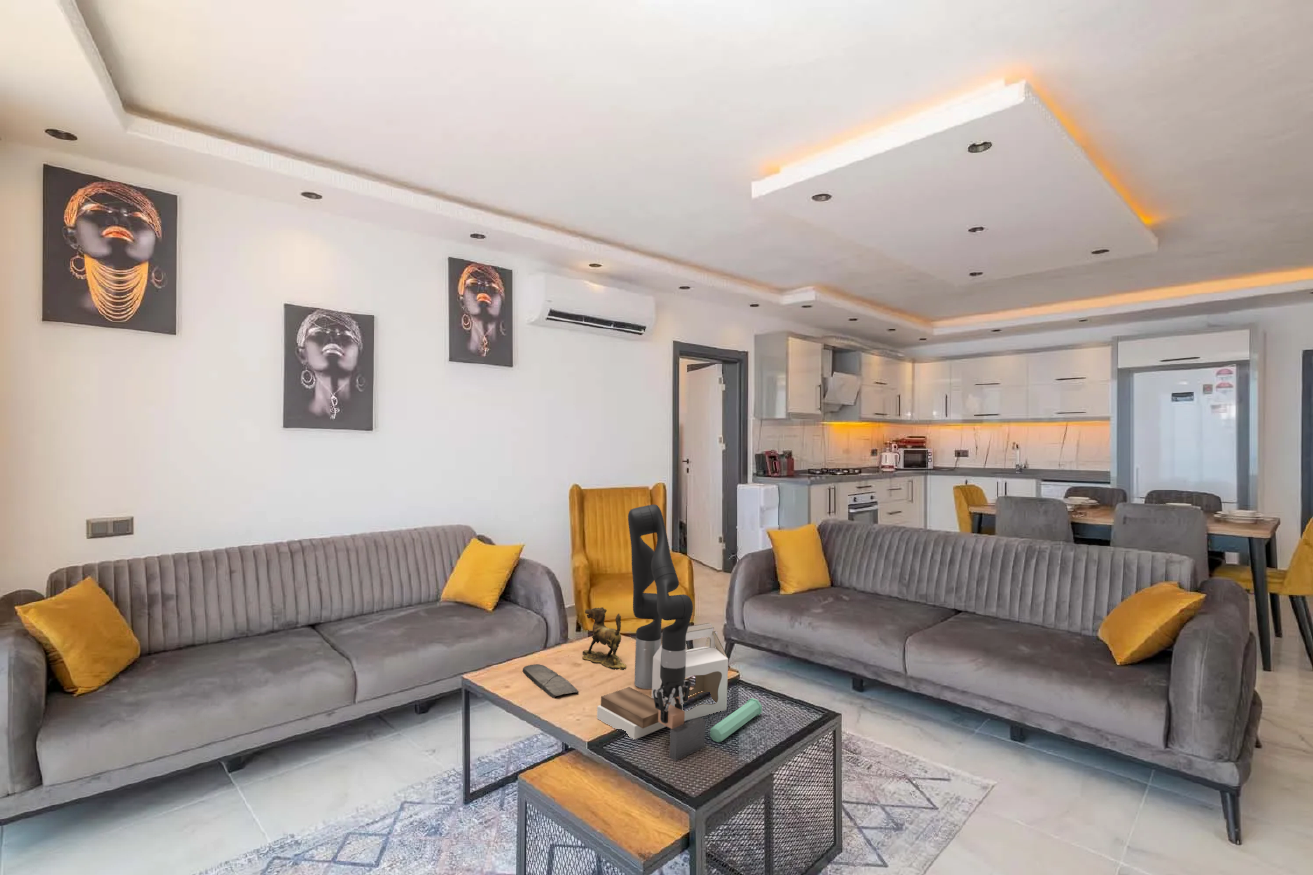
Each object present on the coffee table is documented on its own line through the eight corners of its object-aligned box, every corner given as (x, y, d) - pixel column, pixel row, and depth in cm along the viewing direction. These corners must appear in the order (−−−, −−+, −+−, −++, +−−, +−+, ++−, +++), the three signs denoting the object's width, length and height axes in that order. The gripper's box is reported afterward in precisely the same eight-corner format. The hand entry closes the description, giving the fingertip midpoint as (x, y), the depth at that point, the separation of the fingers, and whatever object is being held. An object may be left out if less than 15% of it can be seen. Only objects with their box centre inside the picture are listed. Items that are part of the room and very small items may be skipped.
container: (719, 724, 186) (759, 696, 206) (703, 726, 189) (744, 698, 209) (725, 745, 185) (764, 715, 205) (709, 746, 188) (749, 716, 208)
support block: (670, 716, 189) (670, 704, 189) (684, 724, 185) (684, 711, 185) (658, 721, 186) (658, 708, 186) (672, 729, 182) (672, 716, 182)
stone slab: (544, 661, 243) (580, 685, 218) (544, 669, 243) (580, 694, 218) (519, 666, 237) (553, 692, 213) (519, 675, 237) (553, 701, 213)
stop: (698, 743, 186) (699, 717, 186) (704, 747, 184) (705, 720, 184) (669, 757, 178) (670, 729, 178) (675, 760, 176) (676, 732, 176)
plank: (629, 695, 209) (629, 686, 209) (671, 716, 194) (671, 707, 194) (600, 705, 200) (601, 696, 200) (642, 728, 186) (643, 718, 186)
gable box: (672, 724, 198) (675, 636, 198) (650, 708, 209) (653, 624, 209) (727, 710, 210) (730, 627, 209) (704, 695, 221) (706, 616, 221)
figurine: (598, 648, 265) (600, 600, 265) (636, 666, 246) (638, 614, 246) (573, 654, 256) (575, 605, 256) (610, 673, 237) (612, 620, 237)
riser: (629, 706, 210) (630, 694, 210) (667, 725, 197) (667, 713, 197) (596, 718, 200) (597, 705, 200) (634, 739, 187) (634, 726, 187)
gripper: (681, 653, 193) (679, 708, 193) (646, 664, 183) (644, 722, 183) (698, 660, 188) (696, 717, 188) (664, 671, 178) (662, 731, 178)
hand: (671, 719), depth 186 cm, fingers closed on support block, 5 cm apart
